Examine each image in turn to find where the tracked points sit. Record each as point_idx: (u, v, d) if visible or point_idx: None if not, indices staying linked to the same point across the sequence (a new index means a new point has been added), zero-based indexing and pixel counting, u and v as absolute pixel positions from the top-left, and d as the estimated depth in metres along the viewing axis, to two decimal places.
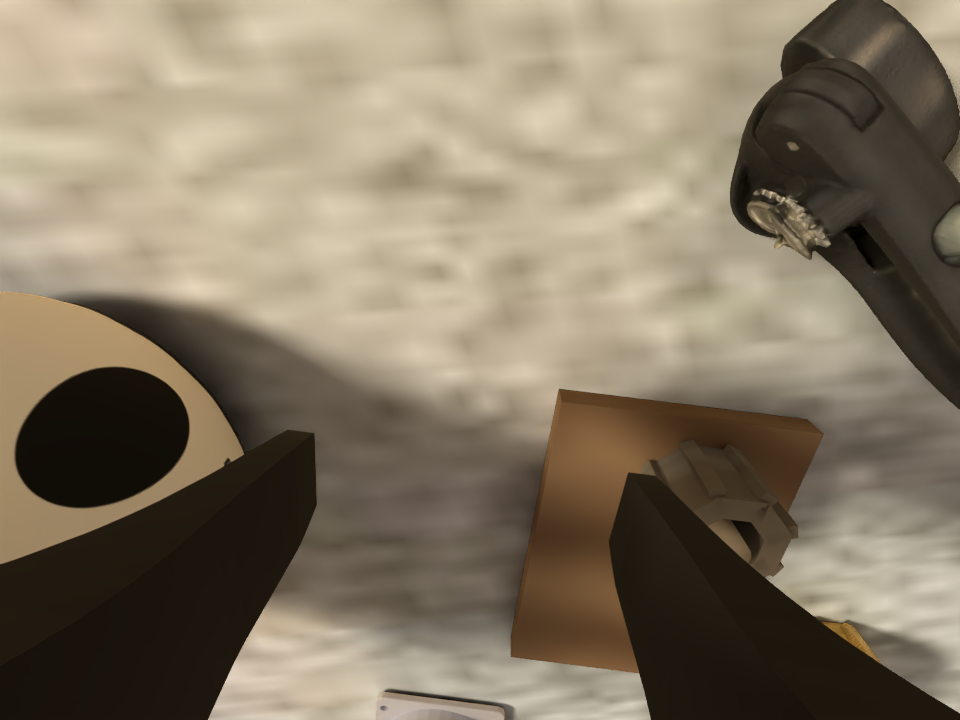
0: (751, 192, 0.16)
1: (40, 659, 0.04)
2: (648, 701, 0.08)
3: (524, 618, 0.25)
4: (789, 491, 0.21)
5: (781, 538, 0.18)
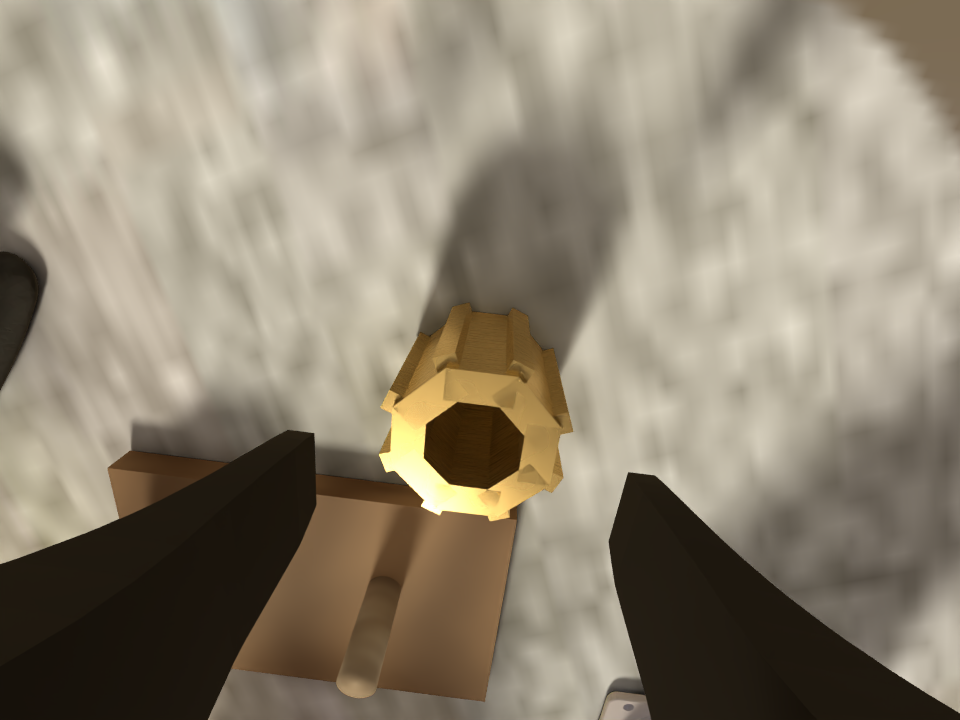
0: None
1: (40, 659, 0.04)
2: (648, 701, 0.08)
3: (421, 689, 0.22)
4: (185, 484, 0.18)
5: None
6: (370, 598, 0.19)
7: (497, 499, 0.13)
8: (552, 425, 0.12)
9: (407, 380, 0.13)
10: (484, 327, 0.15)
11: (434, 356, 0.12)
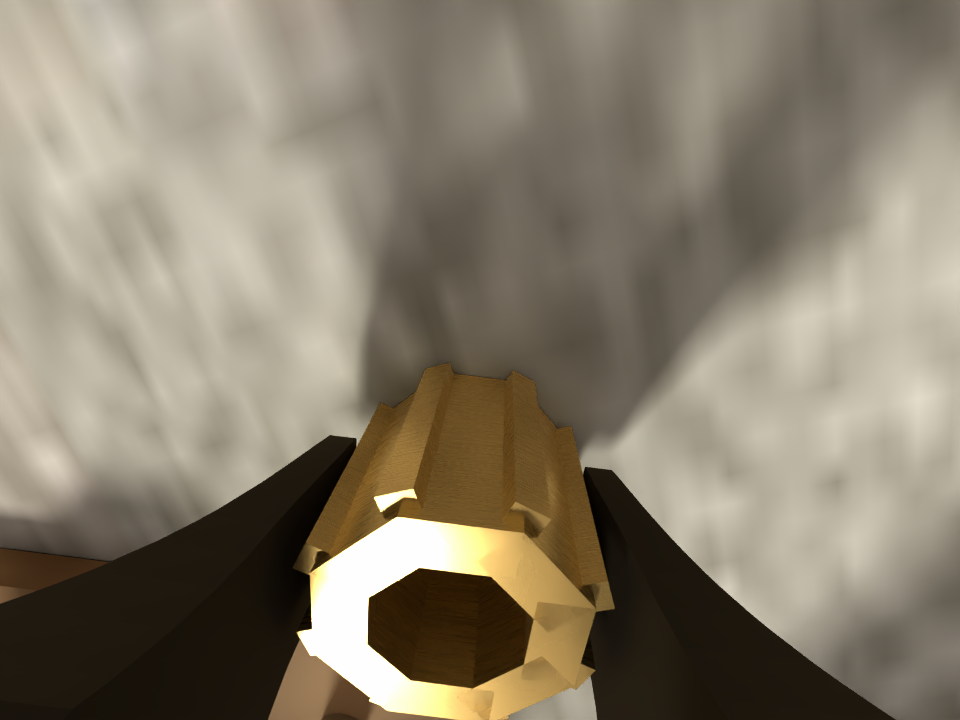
0: None
1: (140, 672, 0.04)
2: (594, 694, 0.08)
3: None
4: None
5: None
6: None
7: (489, 701, 0.08)
8: (581, 605, 0.07)
9: (343, 510, 0.08)
10: (470, 407, 0.10)
11: (378, 492, 0.07)
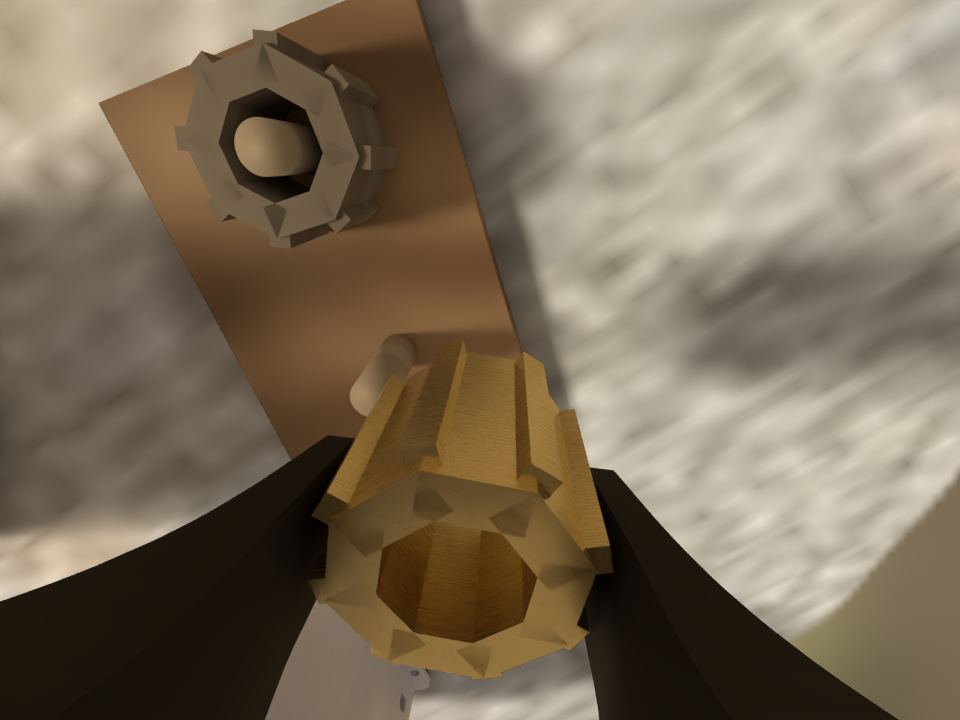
0: None
1: (135, 671, 0.04)
2: (597, 695, 0.08)
3: (280, 427, 0.20)
4: (432, 92, 0.15)
5: (321, 94, 0.12)
6: (404, 349, 0.17)
7: (486, 657, 0.09)
8: (583, 565, 0.08)
9: (360, 467, 0.09)
10: (483, 381, 0.10)
11: (401, 447, 0.07)
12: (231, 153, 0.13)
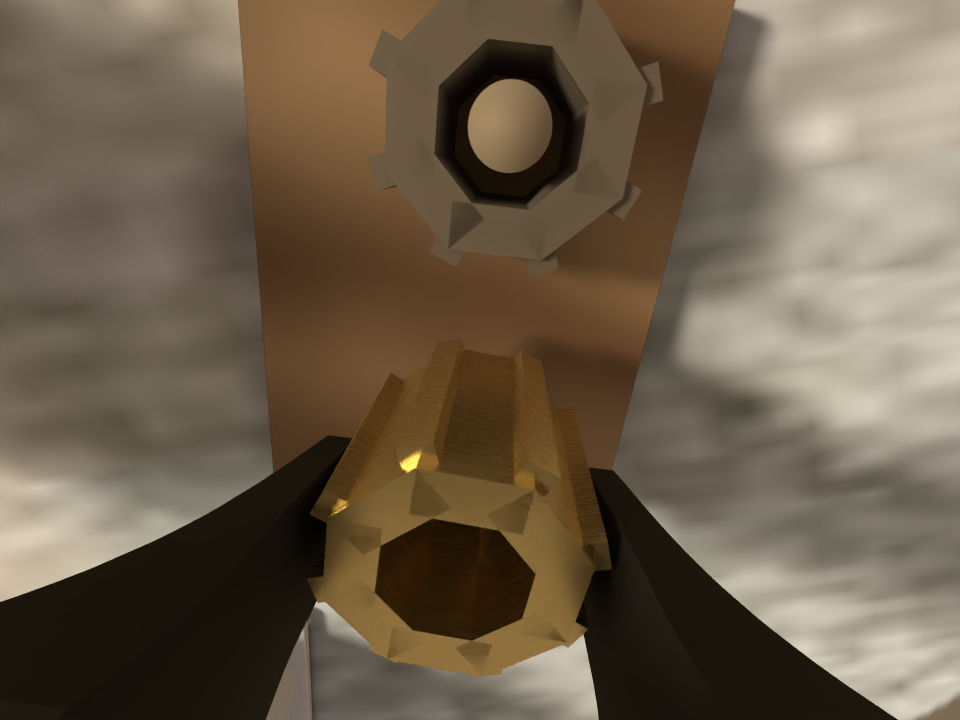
0: None
1: (137, 671, 0.04)
2: (596, 695, 0.08)
3: (279, 436, 0.15)
4: (685, 138, 0.11)
5: (623, 94, 0.08)
6: None
7: (485, 654, 0.09)
8: (581, 562, 0.08)
9: (358, 465, 0.09)
10: (481, 379, 0.10)
11: (399, 444, 0.07)
12: (440, 106, 0.09)
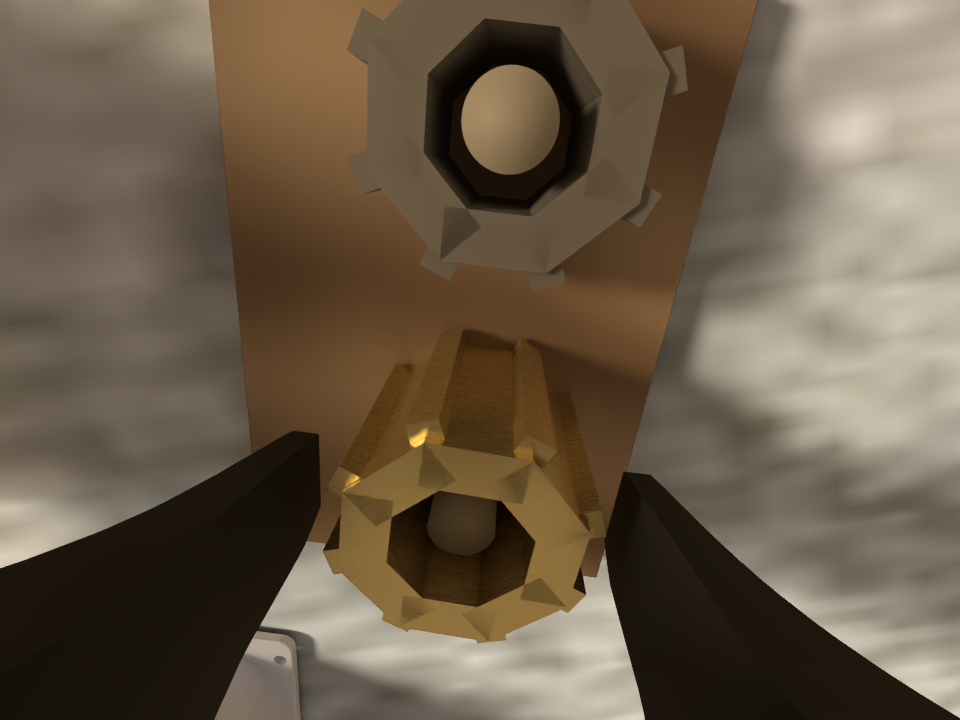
0: None
1: (51, 660, 0.04)
2: (642, 700, 0.08)
3: None
4: (704, 135, 0.10)
5: (642, 83, 0.07)
6: None
7: (490, 620, 0.09)
8: (577, 529, 0.08)
9: (369, 445, 0.09)
10: (482, 366, 0.11)
11: (407, 422, 0.08)
12: (430, 97, 0.07)
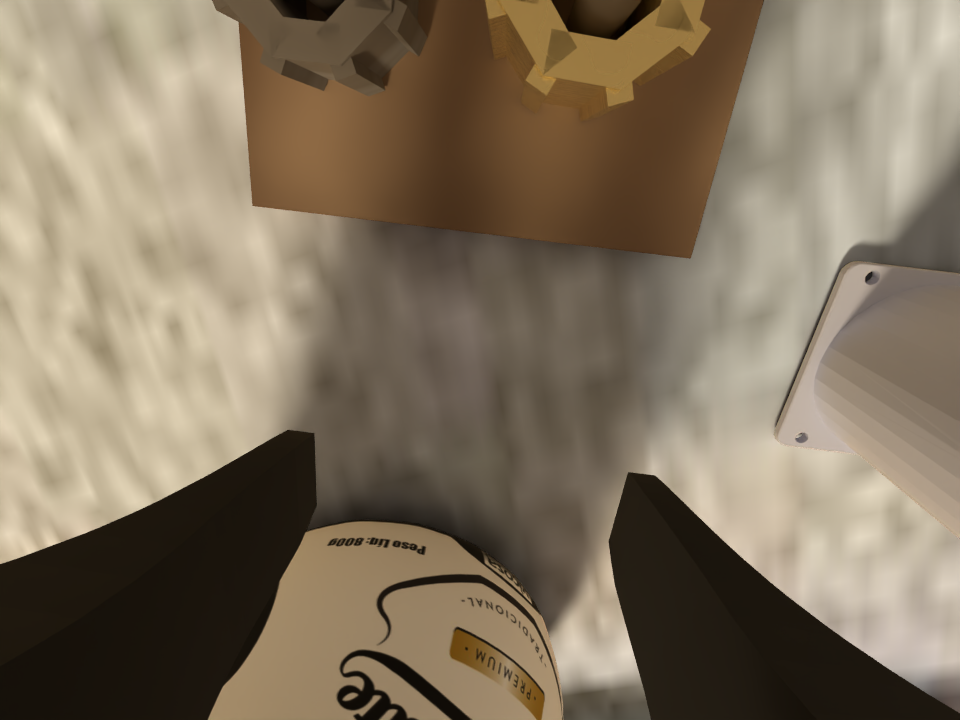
0: None
1: (40, 659, 0.04)
2: (648, 701, 0.08)
3: (607, 240, 0.17)
4: None
5: None
6: None
7: None
8: None
9: None
10: None
11: (488, 17, 0.11)
12: None
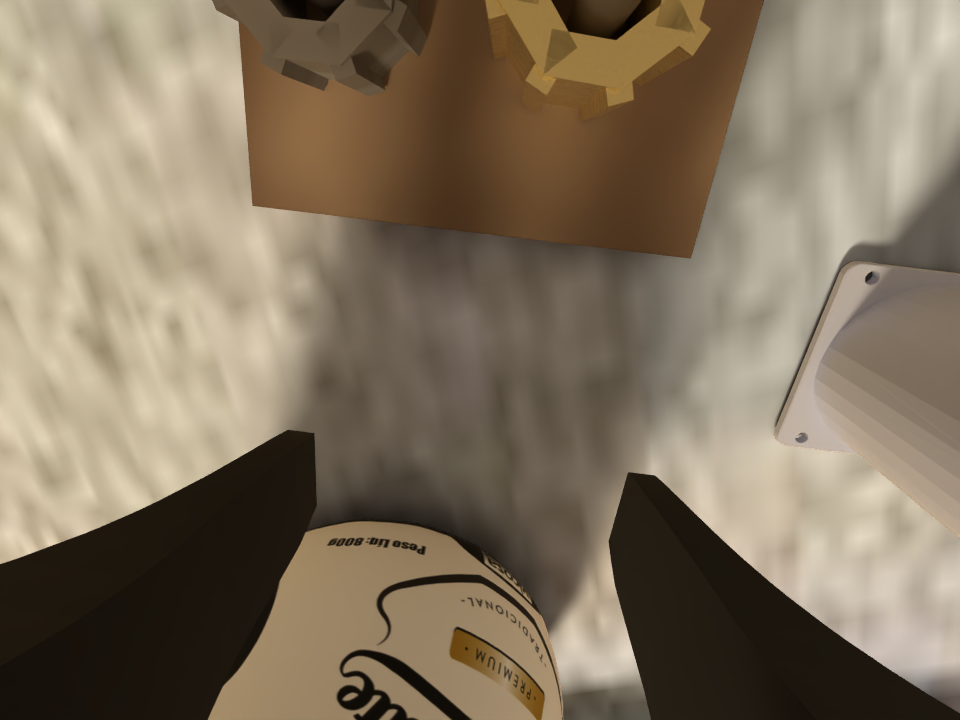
0: None
1: (40, 659, 0.04)
2: (648, 701, 0.08)
3: (607, 240, 0.17)
4: None
5: None
6: None
7: None
8: None
9: None
10: None
11: (488, 17, 0.11)
12: None
